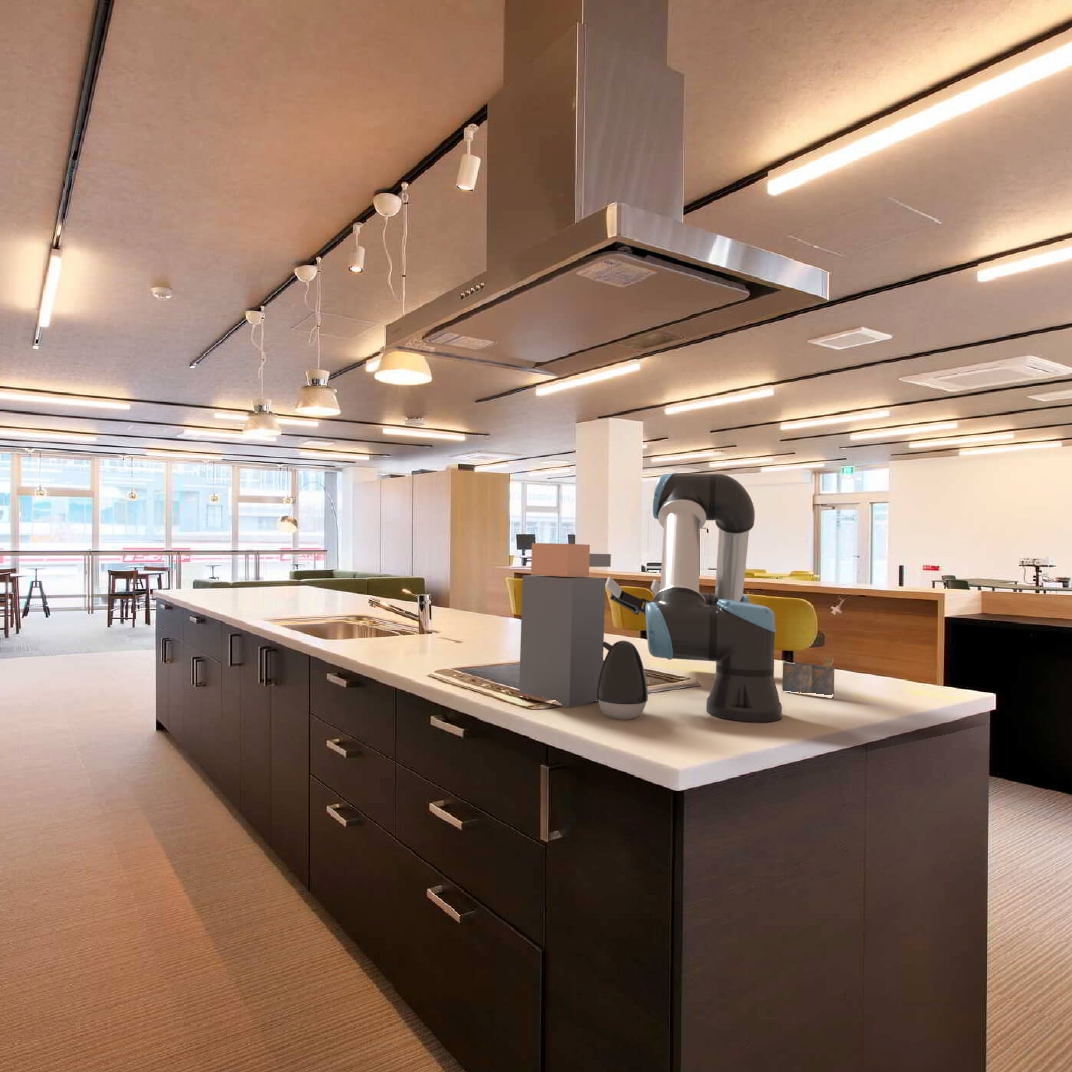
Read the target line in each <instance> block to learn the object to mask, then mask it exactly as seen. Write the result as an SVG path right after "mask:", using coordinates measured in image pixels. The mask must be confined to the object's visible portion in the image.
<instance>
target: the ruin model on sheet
mask: <svg viewBox="0 0 1072 1072" xmlns="http://www.w3.org/2000/svg"><path fill="white" fill-rule="evenodd" d="M834 659H835V657H832V658H826V656H824V658H823V659H822V660H823V663H822V664H814V663H813V664H812V663H807V662H806V663H805V662H794V663H792V662H788V661H784V662H783V661H782V682H781V683H782V685H781V686H782V687H781V689H782V690H783V691H791V692H799V693H800V692H801V693H816V694H824V695H832V694H834V695H835V666H833V663H834V661H835V660H834ZM782 690H781V691H782Z"/></svg>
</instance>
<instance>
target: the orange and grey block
mask: <svg viewBox="0 0 1072 1072" xmlns="http://www.w3.org/2000/svg"><path fill="white" fill-rule="evenodd" d="M590 547H591V546H590V544H583V543H582V544H581V543H553V542H552V543H542V542H531V560H530V561H531V562H530V576H533V575H545V576H561V577H590V568H594V567H595V568H609V567H610V568H611V563H612V562H611V559H612V554H610V553H591V552H590Z"/></svg>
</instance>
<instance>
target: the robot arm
mask: <svg viewBox="0 0 1072 1072" xmlns="http://www.w3.org/2000/svg"><path fill="white" fill-rule="evenodd" d="M653 494H654V495H653V499H652V515H653V518H654V519H656V520H657V521H658V523H659V525H660V526H661V527H662V529H663V533H662V534H663V537H662V550H661V551H662V553H661V569H660V582H659V580H657V579H654V578H653V580H652V583H651V586H650V590H651V592H653V594H655V595H654V596H653V598H652V601H650V600H649V599H647V598H646V599H645V598H644V597H643V598H639V597H636V596H635V595H632V594H630V593H628V592H626V591H624V590H623V588H622V587H621V586H620V585H619V584H618V583H617V582H616V581H615V580H614V579H613V578H612V577H611V576H608V577H607V578H606V580H605V588H606V589H607V590H608V591H609V592H610V593H611V594H610V597H609V599H610V600H611V601H613V602H615V603H617V604H618V605H621V606H622V607H623V608H626V609H627V610H629V611H631V612H632V613H633V614H634V615H637V616H638V615H639V614H640V613H642V614H643V615H645V623H646V625H645V626H646V641H647V648H648V649H647V650H648V653H649V654H650V655H651V656H652V657H653V658H660V659H667V660H670V661H671V660H673V659H675V660H689V661H701V662H702V661H703V662H704V661H705V662H715V677H714V679H713V682H712V685H711V688H710V691H709V695H708V696H707V699H706V712H707V713H708V714H710V715H712V716H714V717H717V718H721V719H727V720H732V721H740V722H750V723H751V722H753V723H754V722H755V723H756V722H758V723H759V722H761V723H762V722H766V723H767V722H773V721H774V720H775V721H778V720H781V719H782V718H783V705H782V703H781V700H780V697H779V693H778V689H777V685H776V681H775V640H776V639H775V635H776V632H777V629H776V617H775V612H774V611H773V609H771V608H770V607H767V606H764V605H760V604H755V603H751V602H750V598H749V595H747V594H744V588H745V578H746V568H747V556H748V547H749V537H750V531H751V530H752V529H753V528H754V526H755V518H756V517H755V516H756V514H755V513H756V511H755V506H754V503H753V501H752V498H751V496H750V495H749V492H748V491H747V490H746V488H744V486H743V485H742V484H741V483H740V482H739V481H738V480H736V478H733V477H731V476H729V475H727V474H724V473H723V474H722V473H680V472H679V473H678V472H673V473H664V474H661V475H660V476H659V477H658V478H657V480H656V483H655V487H654V493H653ZM706 521H715V526H716V527H717V529H718V536H717V537H718V539H717V540H718V543H717V557H716V570H715V571H716V573H715V588H714V589H715V590H714V591H715V592H714V593H707V592H700V555H701V554H700V549H701V547H700V543H701V542H700V540H701V539H700V537H701V536H700V535H701V534H700V533H701V532H700V531H701V529H702V528H703V526H705V524H706ZM643 603H644V605H643ZM781 717H782V718H781Z"/></svg>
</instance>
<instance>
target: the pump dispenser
mask: <svg viewBox="0 0 1072 1072" xmlns="http://www.w3.org/2000/svg"><path fill="white" fill-rule="evenodd" d="M602 646H603V647H604V648H605V650H607V654H606V656H605V658H604V659H603V666H602V669H601V672H600V676H599V681H598V687H597V699H598V701H597V702H598V705H599V708H600V709H601V711H602V713H604V714H605V716H607V717H609V718H611V719H616V720H632V719H635V718H637V717H638V716H640V715H641V714H642V713H643V711H644V709H645V707H646V703H647V702H648V700H649V691H648V681H647V676H646V671H645V667H644V665H643V661H642V657H641V656H640V653H639V651H638V649H637V647H636V646H635V645H634V644H633V643H632V642H631V641H628V640H618V641H616V642H614V643H613V644H610V643H609V642H607V641H604V642H603V644H602ZM604 648H603V649H604Z"/></svg>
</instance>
